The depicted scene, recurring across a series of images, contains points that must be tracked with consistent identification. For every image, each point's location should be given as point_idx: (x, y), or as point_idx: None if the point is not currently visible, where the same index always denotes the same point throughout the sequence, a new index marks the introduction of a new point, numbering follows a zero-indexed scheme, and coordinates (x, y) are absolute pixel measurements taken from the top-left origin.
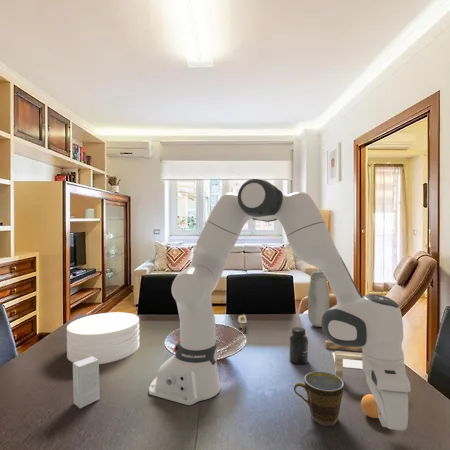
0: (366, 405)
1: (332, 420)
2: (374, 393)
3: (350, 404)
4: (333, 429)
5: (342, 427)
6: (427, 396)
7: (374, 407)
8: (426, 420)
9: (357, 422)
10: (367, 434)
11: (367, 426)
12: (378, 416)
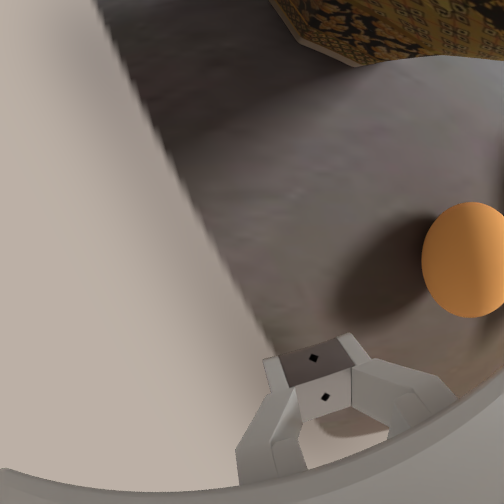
0: (464, 238)
1: (295, 24)
2: (441, 500)
3: (477, 150)
4: (261, 43)
5: (303, 88)
6: (498, 368)
7: (453, 284)
8: None
9: (380, 171)
10: (300, 223)
11: (366, 222)
12: (350, 339)
